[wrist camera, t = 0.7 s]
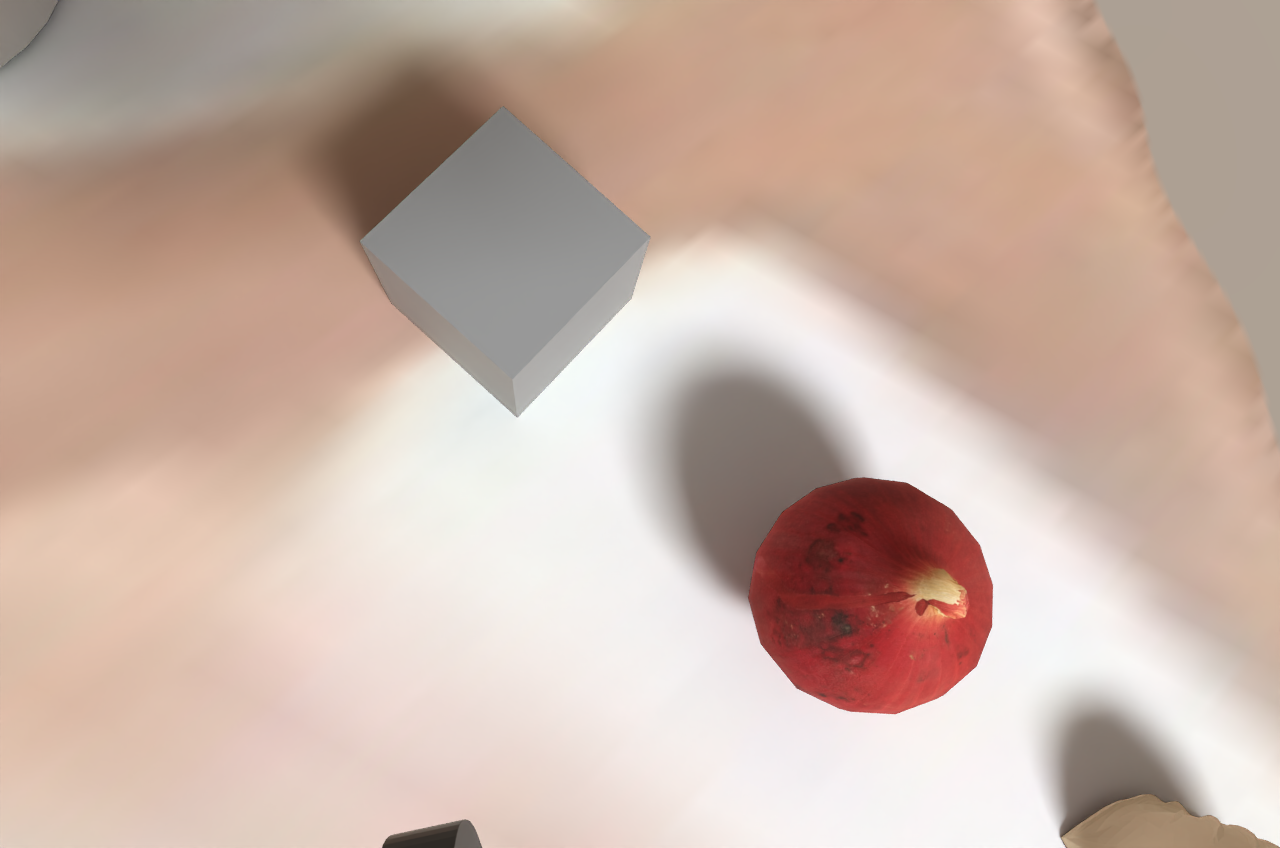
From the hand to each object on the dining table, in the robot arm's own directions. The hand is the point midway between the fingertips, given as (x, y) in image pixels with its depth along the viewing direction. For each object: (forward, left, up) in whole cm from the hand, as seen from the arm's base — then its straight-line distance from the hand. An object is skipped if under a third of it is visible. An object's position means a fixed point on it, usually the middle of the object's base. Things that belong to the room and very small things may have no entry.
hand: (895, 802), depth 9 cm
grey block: (-11, -1, -18) cm, 21 cm away
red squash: (0, +5, -18) cm, 19 cm away
